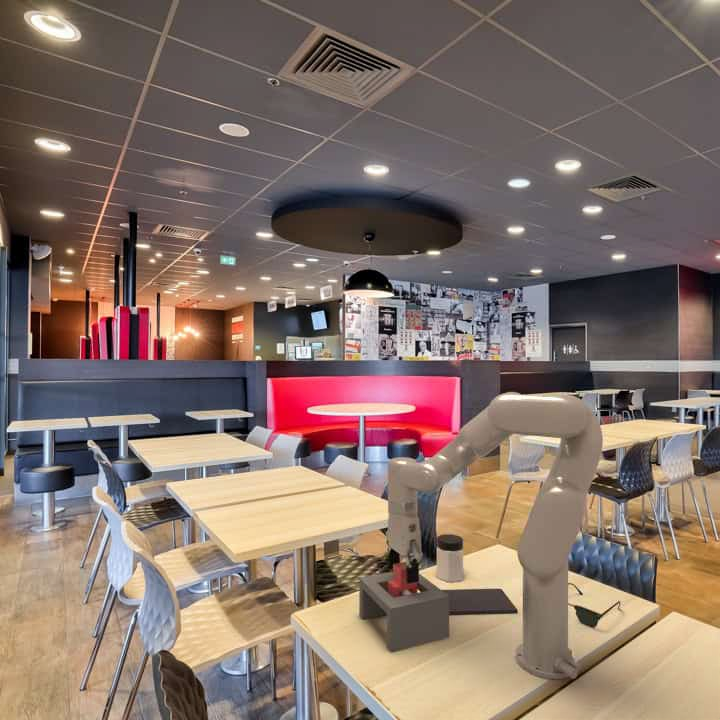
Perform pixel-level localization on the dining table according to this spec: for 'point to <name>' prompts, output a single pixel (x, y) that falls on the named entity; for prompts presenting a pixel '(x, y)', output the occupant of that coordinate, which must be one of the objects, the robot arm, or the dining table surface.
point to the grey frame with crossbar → (406, 611)
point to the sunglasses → (589, 613)
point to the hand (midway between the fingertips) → (403, 574)
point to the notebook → (479, 602)
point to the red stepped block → (400, 581)
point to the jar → (450, 558)
